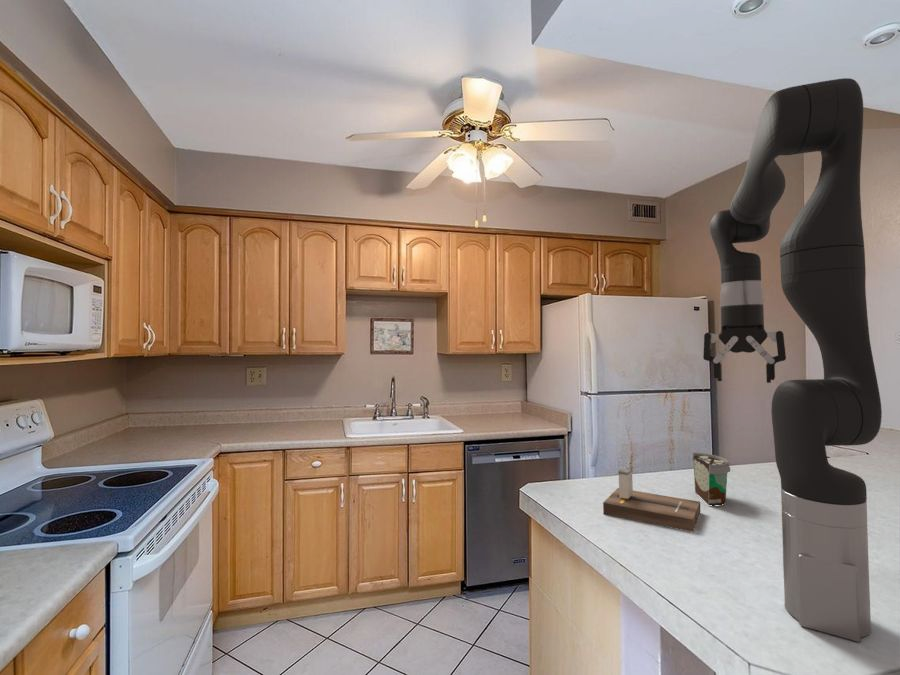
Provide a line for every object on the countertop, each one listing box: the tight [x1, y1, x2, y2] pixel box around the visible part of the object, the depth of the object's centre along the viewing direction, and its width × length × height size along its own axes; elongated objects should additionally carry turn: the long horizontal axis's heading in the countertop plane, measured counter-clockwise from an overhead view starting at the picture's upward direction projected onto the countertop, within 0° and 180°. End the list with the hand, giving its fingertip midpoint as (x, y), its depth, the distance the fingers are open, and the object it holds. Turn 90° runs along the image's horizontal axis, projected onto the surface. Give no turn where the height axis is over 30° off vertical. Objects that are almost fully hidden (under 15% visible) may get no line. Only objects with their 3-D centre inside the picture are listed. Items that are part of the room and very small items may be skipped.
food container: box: [692, 452, 731, 507], centre depth 108 cm, size 12×6×10 cm, turn 168°
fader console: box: [602, 487, 701, 532], centre depth 100 cm, size 12×18×3 cm, turn 54°
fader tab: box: [618, 466, 634, 499], centre depth 104 cm, size 4×2×6 cm, turn 144°
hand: (743, 381), depth 93 cm, fingers open, 8 cm apart
